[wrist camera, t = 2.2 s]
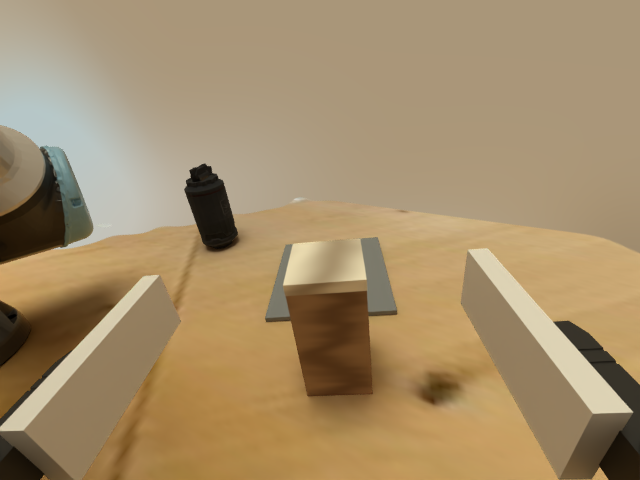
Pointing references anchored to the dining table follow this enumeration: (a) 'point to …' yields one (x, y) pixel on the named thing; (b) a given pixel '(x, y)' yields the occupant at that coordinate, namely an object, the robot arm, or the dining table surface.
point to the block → (330, 316)
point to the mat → (375, 274)
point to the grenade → (210, 207)
